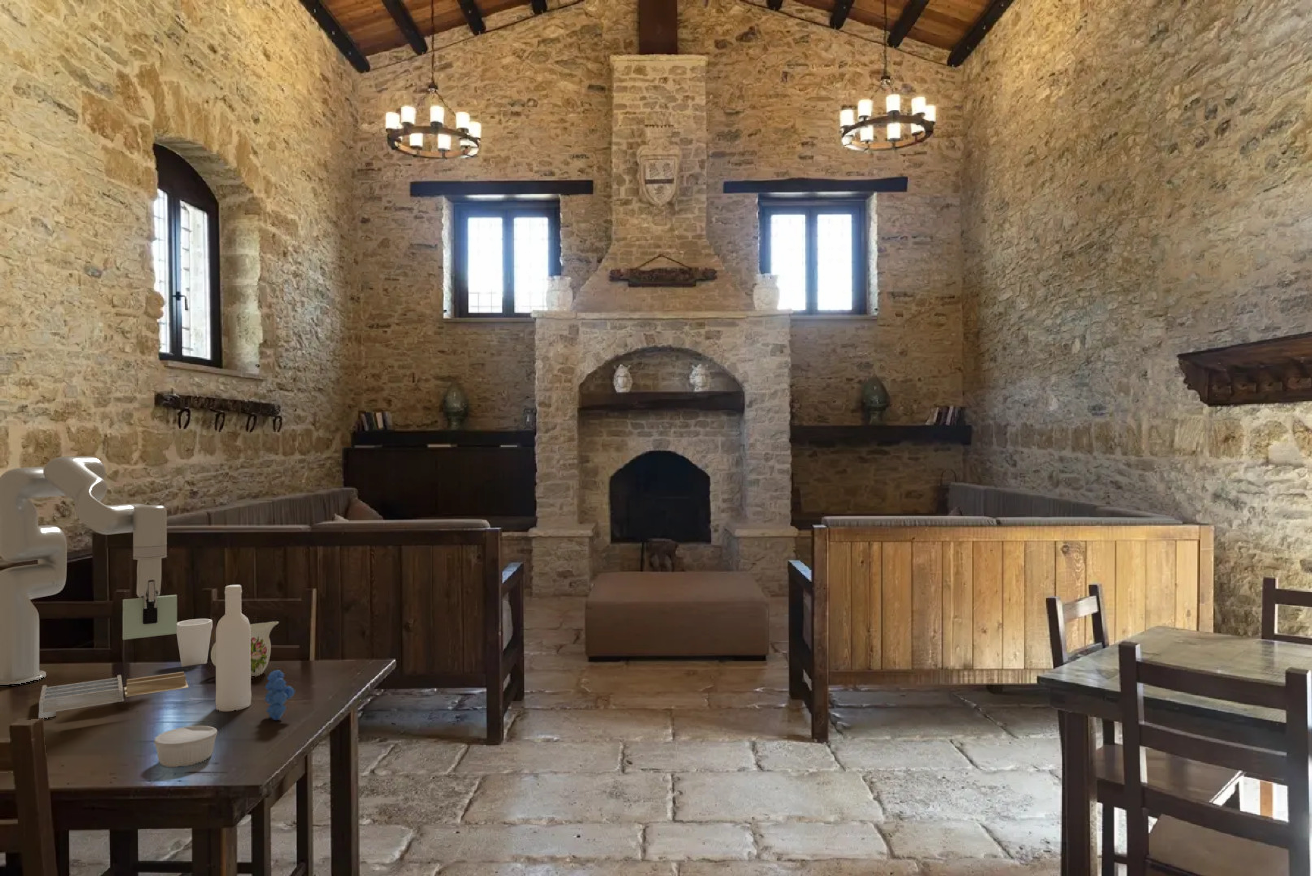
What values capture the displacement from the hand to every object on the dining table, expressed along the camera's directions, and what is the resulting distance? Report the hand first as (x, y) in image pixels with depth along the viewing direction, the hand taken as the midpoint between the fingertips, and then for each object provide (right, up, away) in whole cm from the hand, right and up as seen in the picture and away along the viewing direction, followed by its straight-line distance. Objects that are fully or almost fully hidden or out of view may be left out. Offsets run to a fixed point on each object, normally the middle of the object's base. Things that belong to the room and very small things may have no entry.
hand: (149, 622), depth 217 cm
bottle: (+28, -19, -12) cm, 36 cm away
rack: (-12, -19, -9) cm, 24 cm away
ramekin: (+36, -18, -46) cm, 61 cm away
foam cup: (-4, -19, +27) cm, 34 cm away
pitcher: (+17, -19, +17) cm, 31 cm away
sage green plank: (0, -4, 0) cm, 4 cm away
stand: (+1, -19, +1) cm, 19 cm away
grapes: (+44, -18, -21) cm, 52 cm away
